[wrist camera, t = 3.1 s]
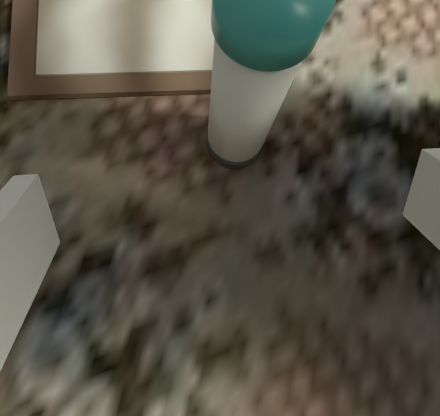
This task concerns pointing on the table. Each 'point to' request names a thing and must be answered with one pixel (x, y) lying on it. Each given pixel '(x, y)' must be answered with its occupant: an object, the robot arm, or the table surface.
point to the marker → (256, 69)
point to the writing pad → (109, 48)
